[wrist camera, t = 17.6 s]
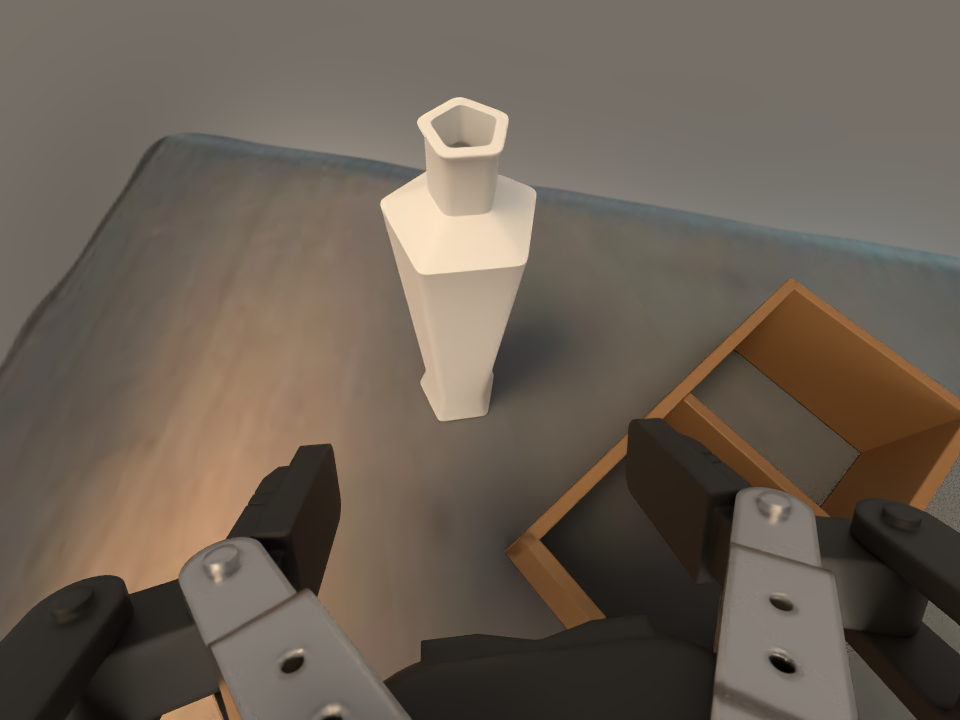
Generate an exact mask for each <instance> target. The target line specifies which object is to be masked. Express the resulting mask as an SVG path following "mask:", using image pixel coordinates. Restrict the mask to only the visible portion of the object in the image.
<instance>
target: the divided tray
mask: <svg viewBox="0 0 960 720" xmlns="http://www.w3.org/2000/svg"><path fill="white" fill-rule="evenodd" d="M733 349H735V350H736V351H737V352H738V353H740V354H741V355H742V356H743V357H744V358H746V359H747V360H748V361H749V362H751V363H752V364H753V365H754V366H756V367H757V368H758V369H759V370H760V371H762V372H763V373H764V374H765V375H767V376H768V377H769V378H770V379H771V380H773V381H774V382H775V383H776V384H778V385H779V386H780V387H781V388H782V389H784V390H785V391H786V392H787V393H789V394H790V395H791V396H792V397H794V398H795V399H796V400H797V401H798V402H800V403H801V404H802V405H803V406H805V407H806V408H807V409H808V410H809V411H811V412H812V413H813V414H814V415H816V416H817V417H818V418H819V419H820V420H822V421H823V422H824V423H825V424H827V425H828V426H829V427H830V428H832V429H833V430H834V431H835V432H836V433H838V434H839V435H840V436H841V437H843V438H844V439H845V440H846V441H847V442H849V443H850V444H851V445H852V446H854V447H855V448H856V449H857V450H858V451H860V452H861V454H860V456H859V457H858V458H857V460H856V461H855V462H854V464H853V465H852V466H851V468H850V469H849V470H848V472H847V473H846V474H845V476H844V477H843V478H842V480H841V481H840V482H839V484H838V485H837V486H836V488H835V489H834V490H833V492H832V493H831V494H830V496H829V497H828V498H827V500H826V501H825V502H824V504H823V505H822V506H821V508H820V507H819V506H818V505H817V504H816V503H815V502H813V501H812V500H811V499H810V498H809V497H808V496H807V495H806V494H804V493H803V492H802V491H801V490H800V489H799V488H798V487H796V486H795V485H794V484H793V483H792V482H791V481H790V480H789V479H787V478H786V477H785V476H784V475H783V474H782V473H781V472H779V471H778V470H777V469H776V468H775V467H774V466H773V465H772V464H770V463H769V462H768V461H767V460H766V459H765V458H764V457H763V456H761V455H760V454H759V453H758V452H757V451H756V450H755V449H753V448H752V447H751V446H750V445H749V444H748V443H747V442H746V441H744V440H743V439H742V438H741V437H740V436H739V435H738V434H737V433H735V432H734V431H733V430H732V429H731V428H730V427H729V426H727V425H726V424H725V423H724V422H723V421H722V420H721V419H720V418H718V417H717V416H716V415H715V414H714V413H713V412H712V411H711V410H709V409H708V408H707V407H706V406H705V405H704V404H703V403H701V402H700V401H699V400H698V399H697V398H696V397H695V396H694V395H692V394H691V393H690V392H691V391H692V390H693V389H694V388H695V387H696V386H697V385H698V384H699V383H700V382H701V381H702V380H703V379H704V378H705V377H706V376H707V375H708V374H709V373H710V372H711V371H712V370H713V369H714V368H715V367H716V366H717V365H718V364H719V363H720V362H721V361H722V360H723V359H724V358H725V357H726V356H727V355H728V354H729V353H730V352H731V351H732V350H733ZM647 418H662V419H663V420H664V421H665V422H666V423H668V424H669V425H670V426H671V427H672V428H673V429H674V430H676V431H677V432H678V433H679V434H680V433H682V434H684V435H686V436H688V437H690V438H693V439H695V440H697V441H699V442H700V443H702V444H703V445H704V446H705V447H706V448H708V449H709V450H710V451H711V452H712V454H715V455H716V456H717V457H718V458H719V459H721V460H722V463H725V464H727V465H728V466H729V467H730V468H731V469H733V470H734V471H735V472H736V473H737V474H739V475H740V476H741V477H742V478H743V479H744V480H746V481H747V482H748V483H749V484H750V485H752V486H753V487H764V488H771V489H775V490H779V491H782V492H785V493H788V494H790V495H793V496H795V497H796V498H798V499H800V500H801V501H803V502H804V503H806V504H807V505H808V506H809V507H810V508H811V509H812V511H813V512H814V515H815V516H824V517H834V518H843V519H852V518H853V514H854V510H855V506H856V503H857V502H858V501H860V500H863V499H868V498H879V499H887V500H892V501H897V502H901V503H904V504H907V505H910V506H913V507H915V508H918V509H920V510H922V511H924V510H925V508H926V507H927V505H928V504H929V502H930V501H931V499H932V498H933V496H934V494H935V493H936V491H937V490H938V488H939V487H940V485H941V483H942V482H943V480H944V479H945V477H946V476H947V474H948V472H949V471H950V469H951V468H952V466H953V465H954V463H955V461H956V460H957V458H958V457H959V455H960V399H959V398H957V397H956V396H954V395H953V394H952V393H950V392H949V391H947V390H946V389H945V388H943V387H942V386H941V385H939V384H938V383H936V382H935V381H934V380H932V379H931V378H929V377H928V376H927V375H925V374H924V373H923V372H921V371H920V370H918V369H917V368H916V367H914V366H913V365H911V364H910V363H909V362H907V361H906V360H905V359H903V358H902V357H900V356H899V355H898V354H896V353H895V352H893V351H892V350H891V349H889V348H888V347H887V346H885V345H884V344H882V343H881V342H880V341H878V340H877V339H875V338H874V337H873V336H871V335H870V334H869V333H867V332H866V331H864V330H863V329H862V328H860V327H859V326H857V325H856V324H855V323H853V322H852V321H851V320H849V319H848V318H846V317H845V316H844V315H842V314H841V313H839V312H838V311H837V310H835V309H834V308H833V307H831V306H830V305H828V304H827V303H826V302H824V301H823V300H821V299H820V298H819V297H817V296H816V295H815V294H813V293H812V292H810V291H809V290H808V289H806V288H805V287H803V286H802V285H801V284H799V283H798V282H797V281H795V280H794V279H792V278H790V279H788V280H787V281H786V282H785V283H784V284H783V285H782V286H781V287H780V288H779V289H778V290H777V291H776V292H775V293H774V294H773V295H772V296H771V297H770V298H768V299H767V300H766V301H765V302H764V303H763V304H762V305H761V306H760V307H759V308H758V309H757V310H756V311H755V312H754V313H753V314H752V315H751V316H750V317H748V318H747V319H746V320H745V321H744V322H743V323H742V324H741V325H740V326H739V327H738V328H737V329H736V330H735V331H734V332H733V333H732V334H731V335H730V336H728V337H727V338H726V339H725V340H724V341H723V342H722V343H721V344H720V345H719V346H718V347H717V348H716V349H715V350H714V351H713V352H712V353H711V354H710V355H709V356H708V357H707V358H705V359H704V360H703V361H702V362H701V363H700V364H699V365H698V366H697V367H696V368H695V369H694V370H693V371H692V372H691V373H690V374H689V375H688V376H687V377H686V378H685V379H684V380H683V381H681V382H680V383H679V384H678V385H677V386H676V387H675V388H674V389H673V390H672V391H671V392H670V393H669V394H668V395H667V396H666V397H665V398H664V399H663V400H662V401H661V402H660V403H659V404H657V405H656V406H655V407H654V408H653V409H652V410H651V411H650V412H649V413H648V414H647V415H646V416H645V417H644V418H643V419H647ZM627 442H628V433H627V434H626V435H625V436H624V437H623V438H622V439H621V440H620V441H619V442H618V443H617V444H616V445H615V446H614V447H613V448H612V449H610V450H609V451H608V452H607V453H606V454H605V455H604V456H603V457H602V458H601V459H600V460H599V461H598V462H597V463H596V464H595V465H594V466H593V467H592V468H591V469H590V470H589V471H588V472H586V473H585V474H584V475H583V476H582V477H581V478H580V479H579V480H578V481H577V482H576V483H575V484H574V485H573V486H572V487H571V488H570V489H569V490H568V491H567V492H566V493H565V494H564V495H562V496H561V497H560V498H559V499H558V500H557V501H556V502H555V503H554V504H553V505H552V506H551V507H550V508H549V509H548V510H547V511H546V512H545V513H544V514H543V515H542V516H541V517H540V518H538V519H537V520H536V521H535V522H534V523H533V524H532V525H531V526H530V527H529V528H528V529H527V530H526V531H525V532H524V533H523V534H522V535H521V536H520V537H519V538H518V539H517V540H515V541H514V542H513V543H512V544H511V545H510V546H509V547H508V548H507V549H506V550H505V551H504V552H505V554H506V555H507V556H508V557H509V559H510V560H511V561H512V562H513V564H514V565H515V566H516V567H517V568H518V570H519V571H520V572H521V573H522V574H523V576H524V577H525V578H526V579H527V581H528V582H529V583H530V584H531V585H532V587H533V588H534V589H535V590H536V592H537V593H538V594H539V595H540V596H541V598H542V599H543V600H544V601H545V602H546V604H547V605H548V606H549V607H550V609H551V610H552V611H553V612H554V613H555V615H556V616H557V617H558V618H559V620H560V621H561V622H562V623H563V624H564V626H565V627H566V628H567V629H570V628H573V627H575V626H578V625H580V624H583V623H585V622H588V621H591V620H596V619H604V618H607V617H606V616H605V615H604V614H603V613H602V612H601V610H600V609H599V608H598V607H597V606H596V605H595V603H594V602H593V601H592V600H591V599H590V598H589V596H588V595H587V594H586V593H585V592H584V591H583V590H582V588H581V587H580V586H579V585H578V584H577V583H576V581H575V580H574V579H573V578H572V577H571V576H570V574H569V573H568V572H567V571H566V570H565V569H564V567H563V566H562V565H561V564H560V563H559V562H558V560H557V559H556V558H555V557H554V556H553V555H552V553H551V552H550V551H549V550H548V549H547V548H546V547H545V545H544V544H543V543H542V542H541V541H540V539H541V538H542V537H543V536H544V535H545V534H546V533H547V532H548V531H549V530H550V529H551V528H552V527H553V526H554V525H555V524H556V523H557V522H558V521H559V520H560V519H561V518H562V517H563V516H564V515H565V514H566V513H567V512H568V511H569V510H570V509H571V508H572V507H573V506H574V505H575V504H576V503H577V502H578V501H579V500H580V499H581V498H582V497H583V496H585V495H586V494H587V493H588V492H589V491H590V490H591V489H592V488H593V487H594V486H595V485H596V484H597V483H598V482H599V481H600V480H601V479H602V478H603V477H604V476H605V475H606V474H607V473H608V472H609V471H610V470H611V469H612V468H613V467H614V466H615V465H616V464H617V463H618V462H619V461H620V460H621V459H622V458H623V457H624V456H625V455H626V454H627Z"/></svg>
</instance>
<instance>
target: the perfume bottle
mask: <svg viewBox="0 0 960 720" xmlns="http://www.w3.org/2000/svg"><path fill="white" fill-rule="evenodd" d="M508 123H509V120H508V116H507V115H506V114H505V113H503V112H501V111H499V110H496V109H493V108H491V107H488V106H485V105H482V104H480V103H477V102H474V101H472V100H469V99H466V98H462V97H458V98H453V99H451V100H449V101H447V102H446V103H444V104H442V105H440V106H438V107H437V108H435V109H433V110H431V111H430V112H428V113H426V114H424V115H423V116H421V117H420V118H419V119H418V122H417V125H418V127H419V129H420V130H421V132H422V134H423V135H424V139H425V154H426V170H427V171H426V172H425V173H423V174H421V175H420V176H418V177H417V178H415V179H413V180H412V181H410V182H409V183H407V184H405V185H404V186H402V187H401V188H399V189H397V190H396V191H394V192H393V193H391V194H389V195H388V196H386V197H385V198H384V199H382V200H381V203H380V205H381V209H382V212H383V216H384V220H385V223H386V227H387V231H388V234H389V238H390V241H391V245H392V249H393V252H394V256H395V259H396V263H397V267H398V270H399V274H400V278H401V281H402V285H403V288H404V292H405V296H406V299H407V303H408V307H409V310H410V314H411V317H412V321H413V325H414V328H415V332H416V336H417V339H418V343H419V346H420V350H421V354H422V357H423V361H424V365H425V368H426V372H425V374H424V375H423V377H422V379H421V382H420V383H421V386H422V388H423V390H424V392H425V394H426V396H427V399H428V401H429V403H430V405H431V407H432V409H433V411H434V413H435V415H436V417H437V418H438V420H440V421H449V420H457V419H464V418H471V417H479V416H484V415H486V414H487V413H488V409H489V403H490V397H491V390H492V384H493V378H494V374H493V372H492V369H493V365H494V362H495V359H496V356H497V353H498V350H499V347H500V343H501V340H502V337H503V334H504V331H505V328H506V325H507V322H508V318H509V315H510V312H511V309H512V306H513V303H514V300H515V296H516V293H517V290H518V287H519V284H520V281H521V278H522V275H523V271H524V268H525V265H526V262H527V259H528V253H529V246H530V238H531V231H532V224H533V217H534V209H535V202H536V191H535V190H534V189H533V188H531V187H530V186H527V185H525V184H522V183H519V182H517V181H514V180H512V179H509V178H507V177H504V176H502V175H499V174H498V165H499V157H500V153H501V152H502V150H503V148H504V143H505V138H506V133H507V128H508Z"/></svg>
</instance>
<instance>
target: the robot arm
mask: <svg viewBox="0 0 960 720" xmlns="http://www.w3.org/2000/svg"><path fill="white" fill-rule="evenodd" d="M626 481H627V485H628V488H629V490H630V492H631V494H632V495H633V497H634V498H635V499H636V501H637V502H638V504H639V505H640V506H641V508H642V509H643V510H644V512H645V513H646V515H647V516H648V517H649V519H650V520H651V522H652V523H653V524H654V526H655V527H656V528H657V530H658V531H659V533H660V534H661V535H662V537H663V538H664V539H665V541H666V542H667V544H668V545H669V546H670V548H671V549H672V550H673V552H674V553H675V555H676V556H677V557H678V559H679V560H680V561H681V563H682V564H683V566H684V567H685V568H686V570H687V571H688V572H689V574H690V575H691V577H692V578H693V579H694V581H695V582H696V583H697V584H701V583H709V582H719V583H720V584H721V585H722V588H721V595H720V601H719V609H718V616H717V624H716V632H715V639H714V647H713V651H711V650H709V649H707V648H705V647H703V646H701V645H698V644H696V643H694V642H691V641H688V640H685V639H682V638H679V637H676V636H671V635H667V634H662V633H655V631H654V629H653V627H652V626H651V624H650V622H649V620H648V618H647V616H646V615H645V614H637V615H629V616H621V617H612V618H604V619H596V620H591V621H588V622H585V623H583V624H580V625H578V626H575V627H573V628H570V629H567V630H565V631H562V632H560V633H557V634H555V635H552V636H549V637H547V638H544V639H540V640H530V639H521V638H511V637H502V636H493V635H484V634H473V635H464V636H456V637H448V638H440V639H431V640H423V641H421V661H420V662H418V663H415V664H413V665H410V666H408V667H406V668H404V669H402V670H401V671H399V672H397V673H395V674H394V675H392V676H391V677H389V678H388V679H386V680H385V681H383V682H382V680H381V679H380V678H379V677H378V675H377V674H376V673H375V671H374V670H373V669H372V668H371V666H370V665H369V664H368V662H367V661H366V660H365V659H364V657H363V656H362V655H361V653H360V652H359V651H358V650H357V648H356V647H355V646H354V645H353V643H352V642H351V641H350V639H349V638H348V637H347V636H346V634H345V633H344V632H343V630H342V629H341V628H340V627H339V625H338V624H337V623H336V621H335V620H334V619H333V618H332V616H331V615H330V614H329V612H328V611H327V610H326V609H325V607H324V606H323V605H322V603H321V602H320V601H319V600H318V598H317V596H318V593H319V589H320V586H321V582H322V579H323V575H324V572H325V569H326V565H327V562H328V558H329V555H330V551H331V548H332V544H333V541H334V537H335V534H336V531H337V527H338V524H339V520H340V512H341V499H340V491H339V484H338V477H337V471H336V464H335V457H334V451H333V448H332V445H331V444H318V445H306V446H300V447H299V448H298V450H297V452H296V454H295V456H294V458H293V459H292V461H291V463H290V465H289V466H282V467H278V468H277V469H275V470H274V471H273V472H271V473H270V474H269V475H268V476H266V477H265V478H264V479H263V480H262V482H261V483H260V485H259V486H258V488H257V490H256V491H255V495H253V496H252V498H251V499H250V501H249V502H248V506H246V507H245V509H244V511H243V512H242V514H241V515H240V517H239V519H238V520H237V522H236V523H235V525H234V527H233V528H232V530H231V531H230V533H229V535H228V536H227V538H226V539H225V540H223V541H219V542H217V543H214V544H212V545H210V546H208V547H206V548H204V549H202V550H201V551H199V552H198V553H196V554H195V555H194V556H192V557H191V558H190V559H189V560H188V561H187V562H186V563H185V565H184V566H183V567H182V569H181V571H180V573H179V578H178V579H176V580H173V581H170V582H167V583H164V584H161V585H158V586H154V587H151V588H148V589H145V590H142V591H138V592H135V593H132V594H128V591H127V588H126V585H125V582H124V581H123V579H121V578H120V577H117V576H113V575H103V576H96V577H91V578H87V579H84V580H81V581H78V582H75V583H73V584H71V585H68V586H66V587H64V588H62V589H60V590H58V591H56V592H55V593H53V594H51V595H50V596H48V597H47V598H45V599H44V600H42V601H41V602H39V603H38V604H37V605H36V606H35V607H33V608H32V609H31V610H30V611H29V612H28V613H27V614H26V615H25V616H24V617H23V618H22V619H21V621H20V622H19V623H18V624H17V625H16V626H15V627H14V628H13V629H12V630H11V631H10V632H9V633H8V635H7V636H6V637H5V638H4V639H3V640H2V641H1V642H0V720H160V718H161V716H162V715H163V714H166V713H168V712H171V711H173V710H176V709H178V708H180V707H183V706H185V705H188V704H190V703H193V702H195V701H198V700H200V699H202V698H205V697H207V696H210V695H213V698H214V701H215V703H216V706H217V709H218V711H219V714H220V716H221V719H222V720H858V715H857V709H856V703H855V697H854V691H853V685H852V679H851V673H850V667H849V661H848V655H847V649H846V642H845V640H846V641H847V642H848V643H849V645H850V646H851V647H852V648H853V649H854V650H855V651H856V652H857V653H858V654H859V656H860V657H861V658H862V659H863V660H864V661H865V662H866V663H867V664H868V665H869V667H870V668H871V669H872V670H873V671H874V672H875V673H876V674H877V675H878V677H879V678H880V679H881V680H882V681H883V682H884V683H885V684H886V685H887V686H888V688H889V689H890V690H891V691H892V692H893V693H894V694H895V695H896V696H897V697H898V699H899V700H900V701H901V702H902V703H903V704H904V705H905V706H906V707H907V708H908V710H909V711H910V712H911V713H912V714H913V715H914V716H915V717H916V718H917V719H918V720H960V655H959V654H958V653H957V652H956V651H955V650H954V649H953V648H951V647H950V646H949V645H948V644H947V643H946V642H945V641H943V640H942V639H941V638H940V637H939V636H938V635H937V634H936V633H934V632H933V631H932V630H931V629H930V628H929V627H928V626H926V625H925V624H924V623H923V622H922V618H923V615H924V612H925V609H926V606H927V603H928V600H930V601H931V602H932V603H933V604H934V605H936V606H937V607H938V608H939V609H941V610H942V611H943V612H944V613H945V614H947V615H948V616H949V617H950V618H951V619H953V620H954V621H955V622H956V623H957V624H958V625H959V626H960V533H959V532H957V531H955V530H954V529H952V528H951V527H949V526H948V525H946V524H945V523H943V522H941V521H940V520H938V519H937V518H935V517H933V516H932V515H930V514H928V513H926V512H924V511H922V510H920V509H918V508H915V507H913V506H910V505H907V504H904V503H901V502H897V501H892V500H887V499H879V498H868V499H863V500H860V501H858V502H857V503H856V506H855V510H854V514H853V518H852V519H843V518H834V517H824V516H815V515H814V512H813V511H812V509H811V508H810V507H809V506H808V505H807V504H806V503H804V502H803V501H801V500H800V499H798V498H796V497H795V496H793V495H790V494H788V493H785V492H782V491H779V490H775V489H771V488H764V487H753V486H752V485H750V484H749V483H748V482H747V481H746V480H744V479H743V478H742V477H741V476H740V475H739V474H737V473H736V472H735V471H734V470H733V469H731V468H730V467H729V466H728V465H727V464H725V463H722V460H721V459H719V458H718V457H717V456H716V455H715V454H712V452H711V451H710V450H709V449H708V448H706V447H705V446H704V445H703V444H702V443H700V442H699V441H697V440H695V439H693V438H690V437H688V436H686V435H684V434H682V433H680V434H679V433H678V432H677V431H676V430H674V429H673V428H672V427H671V426H670V425H669V424H668V423H666V422H665V421H664V420H663V419H662V418H647V419H634V420H632V421H631V422H630V424H629V429H628V442H627V456H626Z"/></svg>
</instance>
